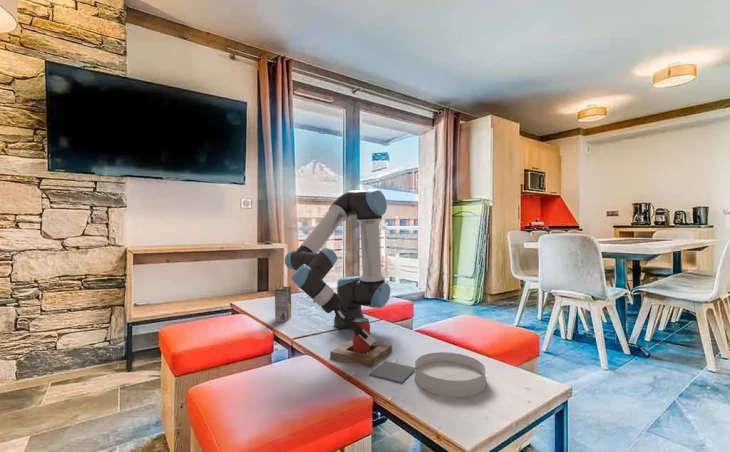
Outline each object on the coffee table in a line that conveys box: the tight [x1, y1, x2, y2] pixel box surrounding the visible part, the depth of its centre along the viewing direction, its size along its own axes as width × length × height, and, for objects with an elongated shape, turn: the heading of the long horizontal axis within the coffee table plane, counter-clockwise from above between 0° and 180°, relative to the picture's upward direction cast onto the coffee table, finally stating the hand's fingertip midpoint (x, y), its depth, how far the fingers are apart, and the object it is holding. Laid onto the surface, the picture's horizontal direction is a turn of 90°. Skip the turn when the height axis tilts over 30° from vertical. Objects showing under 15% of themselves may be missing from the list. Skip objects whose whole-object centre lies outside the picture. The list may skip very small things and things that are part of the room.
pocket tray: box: [329, 338, 393, 368], centre depth 134 cm, size 17×17×2 cm
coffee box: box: [274, 285, 292, 322], centre depth 183 cm, size 9×6×16 cm
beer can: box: [352, 317, 371, 354], centre depth 134 cm, size 7×7×12 cm
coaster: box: [368, 360, 415, 384], centre depth 119 cm, size 12×12×1 cm
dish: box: [414, 351, 487, 398], centre depth 113 cm, size 22×22×5 cm
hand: (370, 339), depth 135 cm, fingers closed on beer can, 7 cm apart
